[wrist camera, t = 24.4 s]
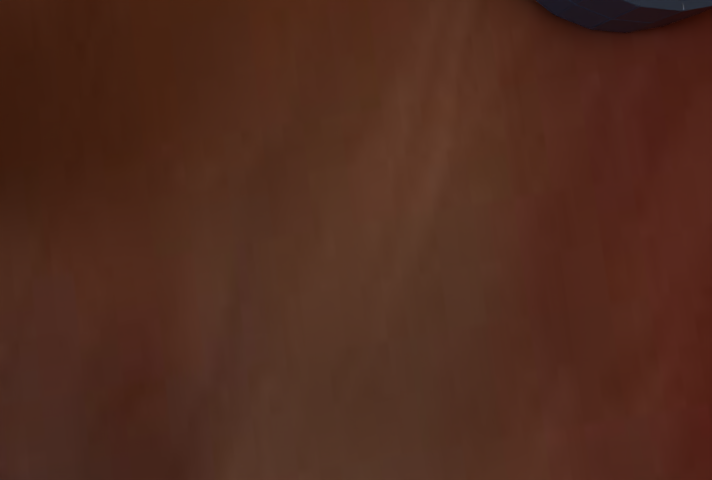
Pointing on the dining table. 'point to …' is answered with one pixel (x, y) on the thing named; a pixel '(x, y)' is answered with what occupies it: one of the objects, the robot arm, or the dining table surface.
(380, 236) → the dining table surface
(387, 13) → the dining table surface
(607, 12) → the blue pet bowl
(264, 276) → the dining table surface
